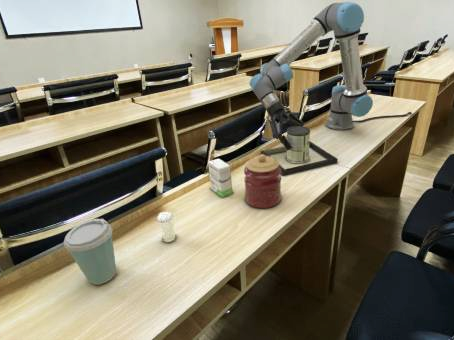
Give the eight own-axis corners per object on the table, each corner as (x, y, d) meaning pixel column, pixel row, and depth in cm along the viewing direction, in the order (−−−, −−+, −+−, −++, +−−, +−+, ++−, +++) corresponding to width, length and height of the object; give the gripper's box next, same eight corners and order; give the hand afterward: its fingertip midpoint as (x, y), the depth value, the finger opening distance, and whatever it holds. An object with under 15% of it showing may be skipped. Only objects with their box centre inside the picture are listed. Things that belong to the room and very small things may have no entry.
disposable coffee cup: (83, 298, 74) (63, 251, 67) (76, 271, 82) (58, 226, 75) (129, 278, 80) (114, 232, 73) (118, 254, 87) (105, 211, 81)
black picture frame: (309, 144, 155) (309, 141, 154) (337, 162, 136) (337, 158, 136) (260, 154, 146) (260, 150, 145) (282, 175, 127) (282, 171, 126)
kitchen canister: (237, 199, 112) (234, 155, 104) (263, 186, 120) (262, 144, 112) (263, 213, 104) (262, 167, 95) (288, 198, 112) (289, 154, 103)
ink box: (233, 193, 116) (231, 165, 110) (221, 197, 113) (219, 169, 107) (221, 184, 122) (218, 157, 116) (210, 188, 119) (207, 161, 113)
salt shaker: (156, 240, 93) (150, 212, 88) (172, 232, 96) (167, 205, 91) (163, 247, 90) (157, 219, 85) (180, 238, 93) (175, 211, 88)
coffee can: (286, 153, 146) (287, 125, 140) (308, 154, 145) (310, 125, 139) (285, 163, 137) (286, 133, 131) (309, 163, 136) (310, 134, 130)
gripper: (285, 104, 150) (309, 140, 148) (250, 116, 134) (276, 157, 132) (294, 95, 145) (319, 132, 143) (258, 107, 128) (286, 149, 126)
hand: (299, 144), depth 137 cm, fingers open, 13 cm apart
